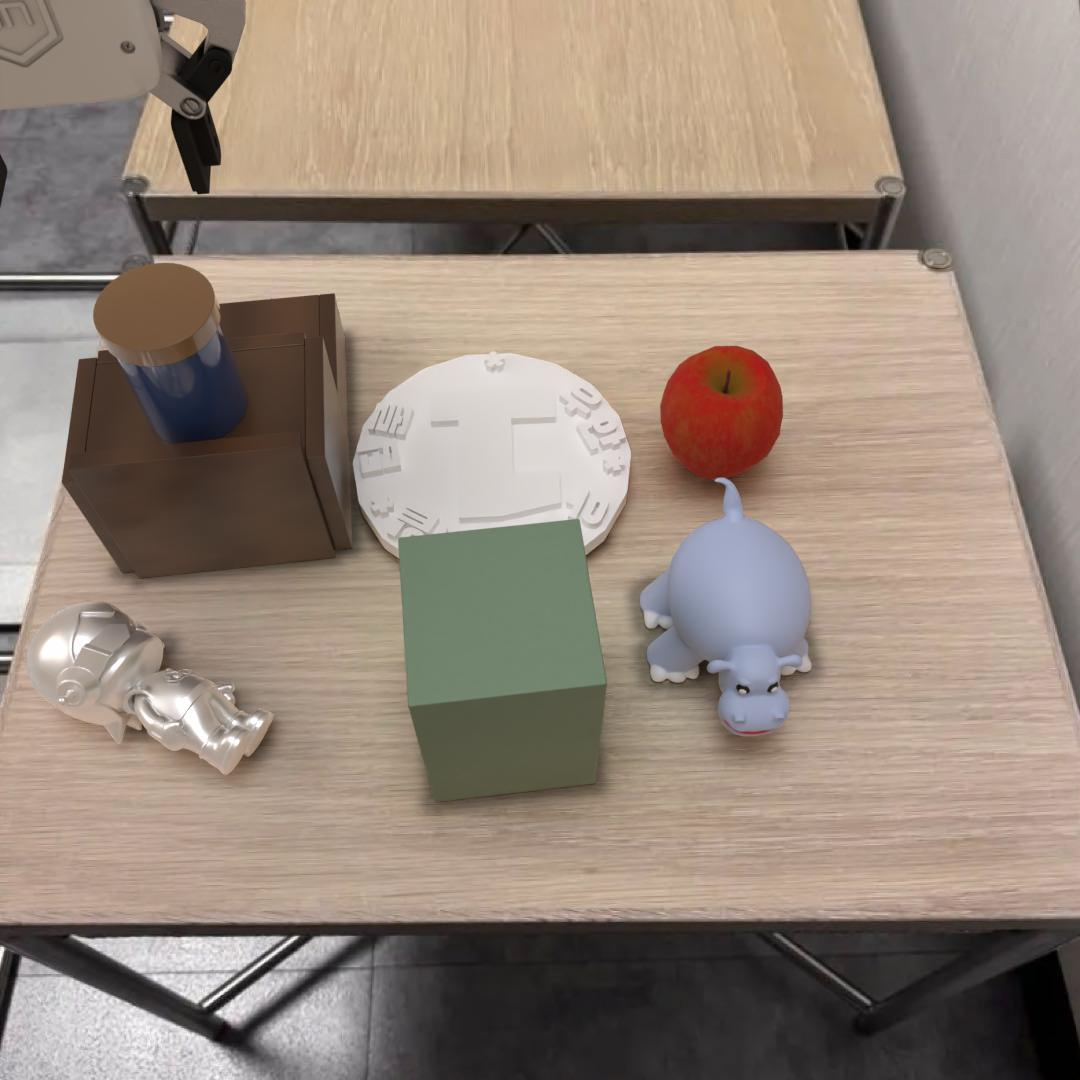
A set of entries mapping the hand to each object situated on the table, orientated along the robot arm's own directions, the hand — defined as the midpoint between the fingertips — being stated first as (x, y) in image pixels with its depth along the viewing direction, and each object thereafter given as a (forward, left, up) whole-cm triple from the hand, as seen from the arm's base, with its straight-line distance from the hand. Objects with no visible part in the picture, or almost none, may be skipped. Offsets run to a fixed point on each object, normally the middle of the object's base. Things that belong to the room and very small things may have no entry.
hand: (100, 184), depth 51 cm
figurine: (-5, -14, -30) cm, 34 cm away
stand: (+17, -17, -30) cm, 38 cm away
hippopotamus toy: (+32, -14, -30) cm, 46 cm away
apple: (+34, +1, -30) cm, 45 cm away
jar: (-1, +2, -19) cm, 19 cm away
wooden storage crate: (-1, +7, -30) cm, 31 cm away
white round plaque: (+18, +2, -30) cm, 35 cm away
